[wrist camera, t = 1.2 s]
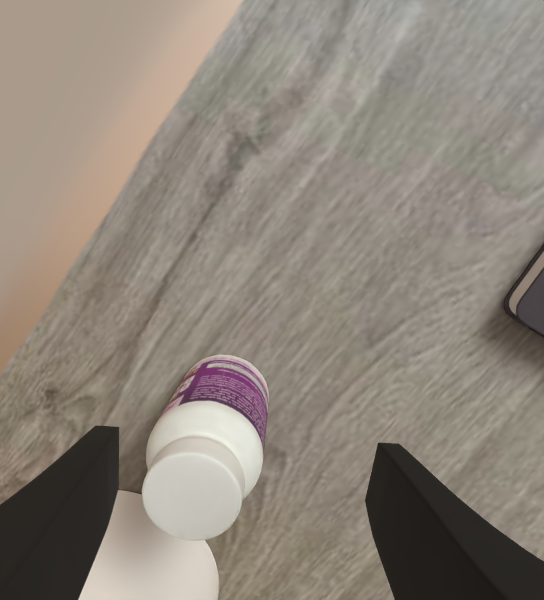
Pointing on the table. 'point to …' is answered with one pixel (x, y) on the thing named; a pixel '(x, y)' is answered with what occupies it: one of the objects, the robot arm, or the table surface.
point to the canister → (148, 560)
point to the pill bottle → (206, 449)
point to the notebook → (529, 296)
